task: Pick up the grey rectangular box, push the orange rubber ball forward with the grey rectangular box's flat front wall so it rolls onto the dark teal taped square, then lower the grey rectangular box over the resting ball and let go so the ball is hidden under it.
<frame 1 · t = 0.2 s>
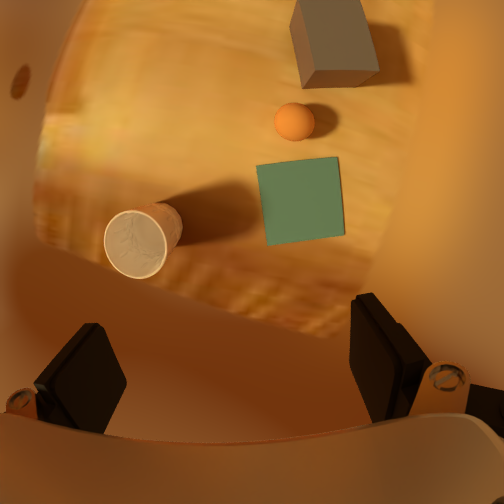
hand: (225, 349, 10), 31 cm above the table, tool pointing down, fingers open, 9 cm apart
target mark: (302, 200, 39), on the table
ball: (294, 121, 33), on the table
grey rectangular box: (322, 55, 33), on the table
white cup: (160, 225, 40), on the table
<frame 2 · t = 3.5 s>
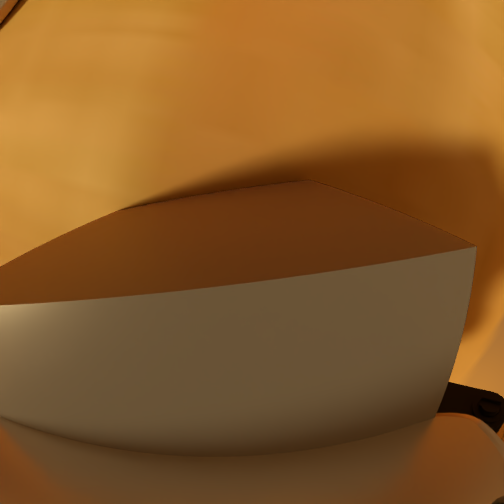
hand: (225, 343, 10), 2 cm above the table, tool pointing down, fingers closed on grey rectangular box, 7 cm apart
grey rectangular box: (229, 315, 12), on the table, touching gripper
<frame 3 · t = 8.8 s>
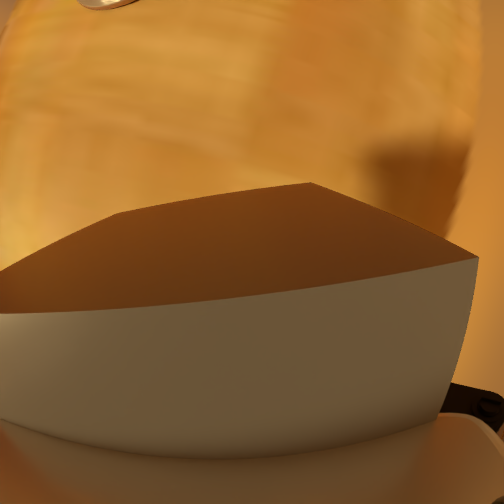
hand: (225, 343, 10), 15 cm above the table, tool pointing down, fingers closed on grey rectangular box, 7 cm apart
grey rectangular box: (230, 317, 12), point 13 cm above the table, touching gripper
when the fingers open (2 cm above the table, at t = 14.4 s): grey rectangular box stays where it is, on the table.
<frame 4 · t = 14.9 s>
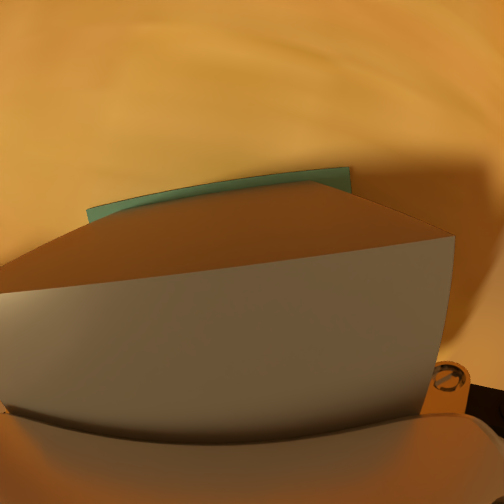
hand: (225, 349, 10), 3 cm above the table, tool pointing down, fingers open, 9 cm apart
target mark: (230, 311, 13), on the table
grey rectangular box: (231, 310, 13), on the table
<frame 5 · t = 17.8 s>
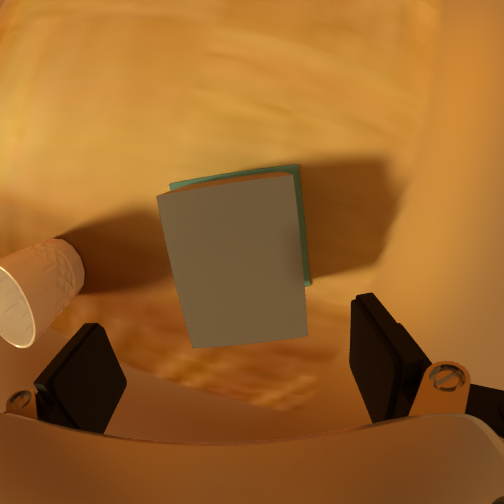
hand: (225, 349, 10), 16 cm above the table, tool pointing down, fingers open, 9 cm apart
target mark: (242, 235, 26), on the table
grey rectangular box: (242, 235, 25), on the table
white cup: (62, 267, 27), on the table
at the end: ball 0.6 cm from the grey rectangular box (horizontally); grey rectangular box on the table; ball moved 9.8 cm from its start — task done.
